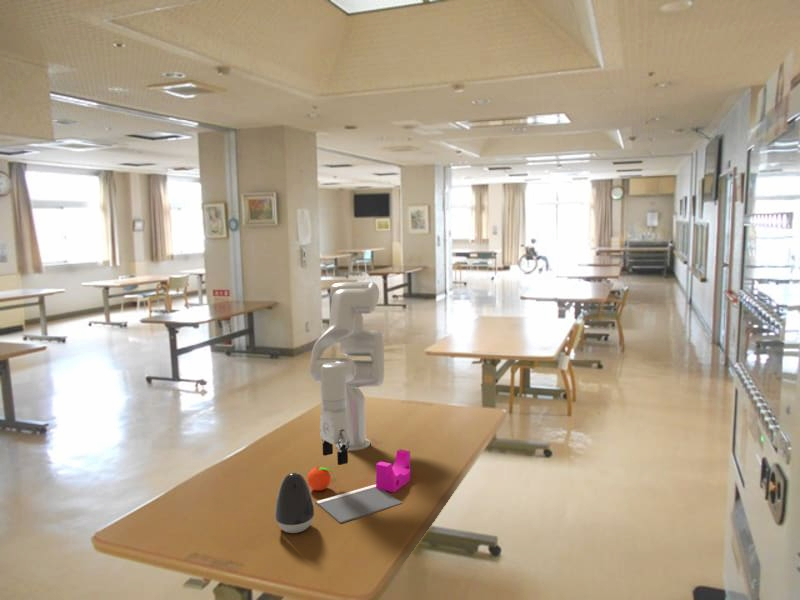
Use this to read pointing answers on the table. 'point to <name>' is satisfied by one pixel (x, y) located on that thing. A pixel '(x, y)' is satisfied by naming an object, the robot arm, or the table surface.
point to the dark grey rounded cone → (294, 504)
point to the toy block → (393, 472)
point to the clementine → (319, 478)
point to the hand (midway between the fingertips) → (335, 459)
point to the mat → (357, 503)
